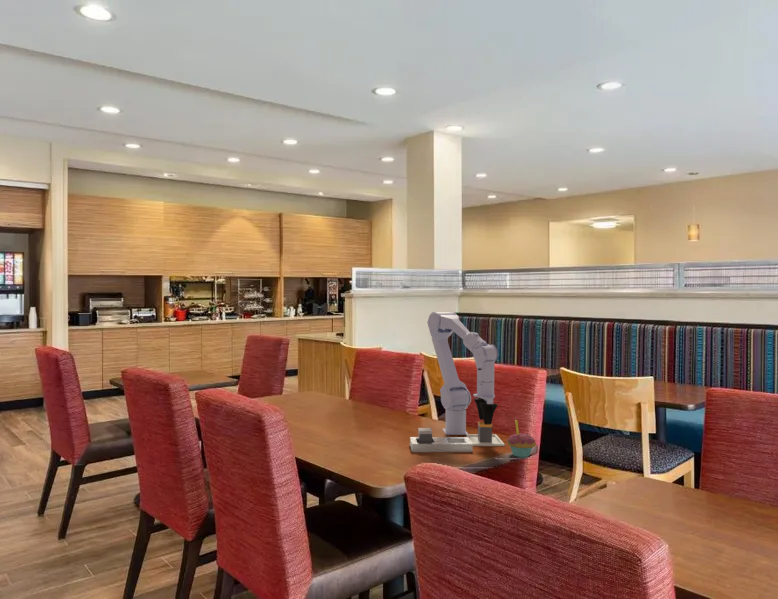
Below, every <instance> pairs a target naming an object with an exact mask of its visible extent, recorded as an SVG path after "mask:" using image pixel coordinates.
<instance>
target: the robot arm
mask: <svg viewBox="0 0 778 599" xmlns="http://www.w3.org/2000/svg"><path fill="white" fill-rule="evenodd" d="M427 327H428V330H429V334H430V336H431V340H432V345H433V348H434V351H435V355H436V359H437V362H438V366H439V369H440V373H441V376H442V380H443V383H444V384H443V385H442V386H441V388H440V389H439V392H440V402H441V405H442V406H443V409H445V428H443V427H442V431H443V432H444V434H445V435H451V436H452V435H459V436H461V435H466V434H469V433H468V432H467V431H466V430H467V429H466V428H467V409H468V408H469V405H470V404H471V402H472V396H473V397H474V399H473V400H474V402H475V404H476V408H477V413H478V414H477V415H478V418H479V420H480V421H481V420H483V422H484V424H485V425H488V424H491V423H492V424H493V418H494V414H495V411H496V410H497V407H498V403H494V398H496V395H495V362H496V361H498V358H499V351H498V348H497V347H496V346H495V344H489V343H488V342H487V341H486V340H484V339H482V338H481V337H480V336H479V333H478V332H474V331H470V330H469V329H468V328H467V327H466V326H465V325H464V324H463V322H461V320H460V317H459V315H457V313H456V312H455V311H449V312H448V311H447V312H446V311H445V312H444V311H442V312H441V311H440V312H436V311H432V312H430V314H429V316H428V318H427ZM453 333H455V334H456V335H457V336H458V337H459V338H461V339H462V340H463V341H462V342H463V345H464V346H465V348H467V349H468V350H469V351H470V352H471V353H472V354H473V359H474V361H475V367H476V393H473V394H472V395H471V392H470V391H469V389H468V387H467V385H466V383H464V382H463V381H461V380H460V378H459V375H458V372H457V368H456V365H455V361H454V359H453V354H452V352H451V348H450V344H449V342H448V341H449V340H448V339H449V338H450V336H452V334H453Z"/></svg>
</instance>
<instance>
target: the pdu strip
mask: <svg viewBox="0 0 778 599" xmlns="http://www.w3.org/2000/svg"><path fill="white" fill-rule="evenodd" d="M409 447H410V450H411V451H410V452H411V453H473V451H474V450H473V447H474V446H473V444H472V442H471V441H470V439H469V438H468V437H466V436H464V437H463V436H460V437H459V436H454V437H453V436H441V437H440V436H432V443H418V436H410V437H409Z"/></svg>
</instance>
